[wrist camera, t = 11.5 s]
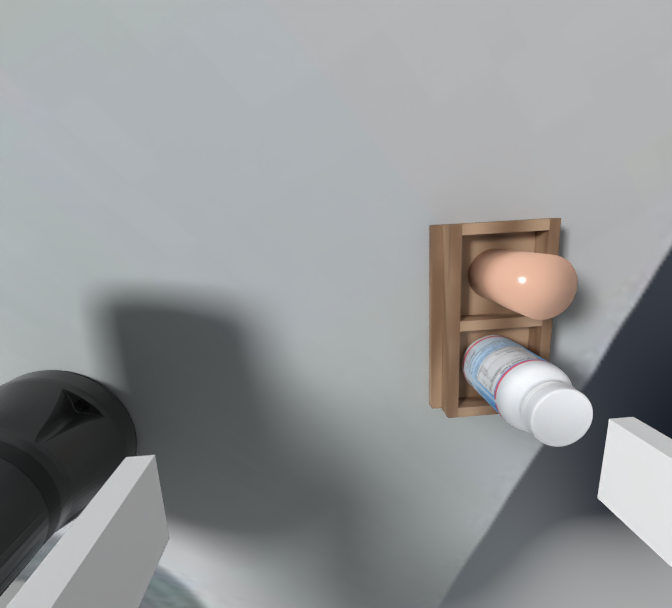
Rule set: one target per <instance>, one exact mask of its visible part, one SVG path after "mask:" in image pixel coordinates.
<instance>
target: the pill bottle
mask: <svg viewBox="0 0 672 608" xmlns="http://www.w3.org/2000/svg"><path fill="white" fill-rule="evenodd" d="M462 372H463V375H464V377H465V379H466V380H467V382H468V383H469V384H470V385H471V386H472V387H473V388H474V389H475V390H476V391H477V392H478V393H479V394H480V395H481V396H482V397H483V398H484V399H485V400H486V401H487V402H488V403H489V404H490V405H491V406H492V407H493V408H494V409H495V410H496V411H497V412H498V413H499V414H500V415H501V416H502V417H503V418H504V419H505V420H506V421H507V422H508V423H509V424H510V425H512V426H513V427H515V428H517V429H519V430H522V431H526V432H530V433H531V434H532V435H534V436H535V437H536V438H537V439H538V440H539V441H541V442H542V443H544V444H547V445H550V446H566V445H569V444H571V443H573V442H575V441H577V440H578V439H580V438H581V437H582V436H583V435H584V434H585V433H586V431H587V430H588V429H589V427H590V425H591V422H592V418H593V409H592V405H591V403H590V401H589V400H588V398H587V397H586V396H585V395H584V394H583V393H581V392H580V391H578V390H576V389H575V388H574V387H573V386H572V383H571V381H570V379H569V378H568V376H567V375H566V374H565V373H564V372H563V371H562V370H561V369H559V368H558V367H556V366H555V365H553V364H551V363H550V362H548V361H546V360H545V359H543V358H541V357H540V356H538V355H536V354H534V353H533V352H531V351H529V350H528V349H526V348H524V347H523V346H521V345H519V344H517V343H516V342H514V341H512V340H510V339H508V338H507V337H504V336H501V335H489V336H485V337H482V338H480V339H478V340H476V341H474V342H473V343H472V344H471V345H470V346H469V347H468V348H467V349H466V351H465V353H464V355H463V358H462Z"/></svg>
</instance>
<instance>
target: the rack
mask: <svg viewBox="0 0 672 608" xmlns="http://www.w3.org/2000/svg"><path fill="white" fill-rule="evenodd" d="M560 225H561V218H546V219H529V220H512V221H496V222H479V223H462V224H445V225H430V247H429V404H430V406H431V408H442V409H443V411H444V412H445V414H446V415H447V417H448V418H453V417H465V416H478V415H490V414H499V413H498V412H497V411H496V410H495V409H494V408H493V407H492V406H491V405H490V404H489V403H488V402H487V401H486V400H485V399H484V398H483V397H482V396H481V395H480V394H479V393H478V392H477V391H476V390H475V389H474V388H473V387H472V386H471V385H470V384H469V383H468V382H467V380H466V379H465V377H464V375H463V372H462V358H463V355H464V353H465V351H466V349H467V348H468V347H469V346H470V345H471V344H472V343H473V342H474V341H476V340H478V339H480V338H482V337H485V336H489V335H501V336H504V337H507V338H508V339H510V340H512V341H514V342H516V343H517V344H519V345H521V346H523V347H524V348H526V349H528V350H529V351H531V352H533V353H534V354H536V355H538V356H540V357H541V358H543V359H545V360H546V361H548V362H549V357H550V345H551V333H552V321H553V318H550V319H546V320H536V319H532V318H529V317H527V316H524V315H522V314H520V313H517V312H515V311H513V310H510V309H508V308H506V307H503V306H501V305H499V304H496V303H494V302H492V301H489V300H487V299H485V298H482V297H480V296H478V295H477V294H476V293H474V291H473V290H472V289H471V287H470V285H469V281H468V271H469V268H470V265H471V263H472V261H473V260H474V259H475V258H476V256H478V255H479V254H480V253H481V252H483V251H485V250H488V249H492V248H499V249H508V250H517V251H525V252H534V253H542V254H551V255H557V256H558V249H559V237H560Z"/></svg>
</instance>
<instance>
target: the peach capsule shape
mask: <svg viewBox="0 0 672 608" xmlns="http://www.w3.org/2000/svg"><path fill="white" fill-rule="evenodd" d="M468 281H469V285H470V287H471V289H472V290H473V291H474V293H476V294H477V295H478V296H480V297H482V298H485V299H487V300H489V301H492V302H494V303H496V304H499V305H501V306H503V307H506V308H508V309H510V310H513V311H515V312H517V313H520V314H522V315H524V316H527V317H529V318H532V319H536V320H546V319H550V318H553V317H555V316H557V315H559V314H561V313H562V312H563V311H564V310H566V309H567V307H568V306H569V305H570V304H571V302H572V301H573V299H574V297H575V294H576V291H577V285H578V280H577V275H576V272H575V269H574V268H573V266H572V265H571V263H570V262H568V261H567V260H566V259H564V258H563V257H560V256H557V255H551V254H542V253H534V252H525V251H517V250H508V249H499V248H492V249H488V250H485V251H483V252H481V253H480V254H479V255H478V256H476V258H475V259H474V260H473V261H472V263H471V265H470V268H469V271H468Z"/></svg>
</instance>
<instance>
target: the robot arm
mask: <svg viewBox="0 0 672 608" xmlns="http://www.w3.org/2000/svg"><path fill="white" fill-rule="evenodd" d="M135 453H136V434H135V429H134V426H133V423H132V420H131V418H130V416H129V414H128V412H127V411H126V409H125V408H124V406H123V405H122V404H121V403H120V401H119V400H118V399H117V398H116V397H115V396H114V395H113V394H112V393H111V392H109V391H108V390H107V389H106V388H104V387H103V386H101V385H100V384H98V383H96V382H94V381H92V380H90V379H88V378H86V377H83V376H81V375H77V374H74V373H70V372H64V371H54V370H47V371H37V372H32V373H28V374H25V375H22V376H20V377H17V378H15V379H13V380H11V381H9V382H7V383H5V384H3V385H1V386H0V596H1V595H2V594H3V592H4V591H5V590H6V589H7V588H8V587H9V585H10V584H11V583H12V582H13V581H14V579H15V578H16V577H17V576H18V575H19V574H20V572H21V571H22V570H23V569H24V568H25V566H26V565H27V564H28V563H29V562H30V560H31V559H32V558H33V557H34V556H35V554H36V553H37V552H38V551H39V549H40V548H41V547H42V546H43V545H44V544H45V543H46V541H47V540H48V539H49V538H50V537H51V536H52V535H53V534H54V533H55V532H56V531H58V530H59V529H61V528H62V527H64V526H65V525H67V524H68V523H70V522H71V521H73V520H74V519H76V518H77V517H78V518H77V519H76V520H75V521H74V523H73V524H72V525H71V526H70V528H69V529H68V530H67V531H66V533H65V534H64V535H63V536H62V538H61V539H60V540H59V541H58V543H57V544H56V545H55V546H54V548H53V549H52V550H51V551H50V553H49V554H48V555H47V556H46V558H45V559H44V560H43V561H42V563H41V564H40V565H39V566H38V568H37V569H36V570H35V571H34V573H33V574H32V575H31V576H30V578H29V579H28V580H27V581H26V583H25V584H24V585H23V587H22V588H21V589H20V590H19V591H18V593H17V594H16V595H15V597H14V598H13V599H12V600H11V602H10V603H9V604H8V605H7V607H6V608H138V607H139V605H140V603H141V600H142V598H143V596H144V594H145V591H146V589H147V587H148V585H149V583H150V580H151V578H152V576H153V574H154V572H155V569H156V567H157V565H158V563H159V560H160V558H161V556H162V554H163V552H164V549H165V547H166V545H167V543H168V540H169V533H168V527H167V521H166V515H165V510H164V504H163V498H162V492H161V486H160V481H159V475H158V469H157V463H156V458H155V455H146V456H135ZM598 499H599V500H600V501H602V502H603V503H604V504H605V505H606V506H607V507H608V508H609V509H610V510H611V511H612V512H613V513H614V514H615V515H616V516H617V517H618V518H620V519H621V520H622V521H623V522H624V523H625V524H626V525H627V526H628V527H629V528H630V529H632V531H633V532H635V533H636V534H637V535H638V536H639V537H640V538H641V539H642V540H643V541H644V542H645V543H646V544H647V545H648V546H649V547H650V548H652V549H653V550H654V551H655V552H656V553H657V554H658V555H659V556H660V557H661V558H662V559H663V560H664V561H665V562H666V563H668V564H669V565H670V566H671V567H672V439H670V438H669V437H667V436H665V435H663V434H662V433H660V432H658V431H657V430H655V429H653V428H651V427H650V426H648V425H646V424H645V423H643V422H641V421H640V420H638V419H636V418H634V417H626V418H614V419H609V424H608V431H607V438H606V444H605V452H604V458H603V465H602V471H601V478H600V485H599V491H598Z"/></svg>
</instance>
